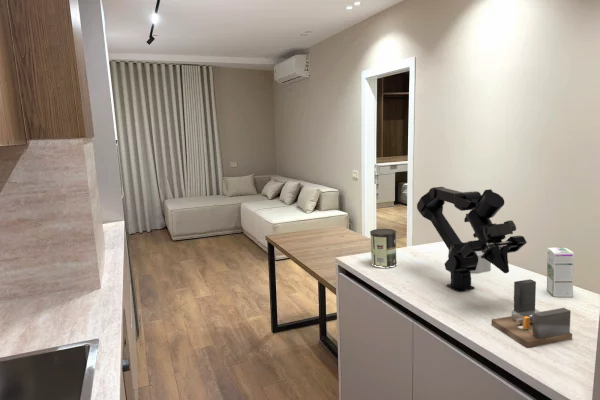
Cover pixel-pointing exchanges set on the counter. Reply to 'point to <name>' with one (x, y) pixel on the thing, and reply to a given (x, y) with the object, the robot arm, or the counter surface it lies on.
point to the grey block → (481, 264)
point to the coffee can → (383, 247)
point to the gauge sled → (524, 300)
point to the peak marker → (526, 322)
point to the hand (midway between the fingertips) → (507, 272)
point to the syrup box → (560, 272)
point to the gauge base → (523, 335)
